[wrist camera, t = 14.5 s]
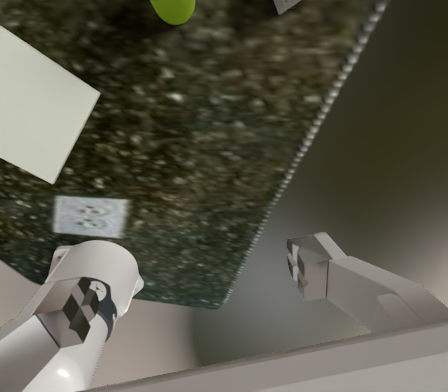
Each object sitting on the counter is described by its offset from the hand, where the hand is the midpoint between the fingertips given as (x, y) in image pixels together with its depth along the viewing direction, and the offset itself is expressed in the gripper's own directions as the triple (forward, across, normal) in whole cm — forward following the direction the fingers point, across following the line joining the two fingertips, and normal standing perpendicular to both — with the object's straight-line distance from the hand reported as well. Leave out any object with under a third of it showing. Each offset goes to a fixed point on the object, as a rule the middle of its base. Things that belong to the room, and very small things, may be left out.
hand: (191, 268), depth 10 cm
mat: (+34, +26, -8) cm, 44 cm away
